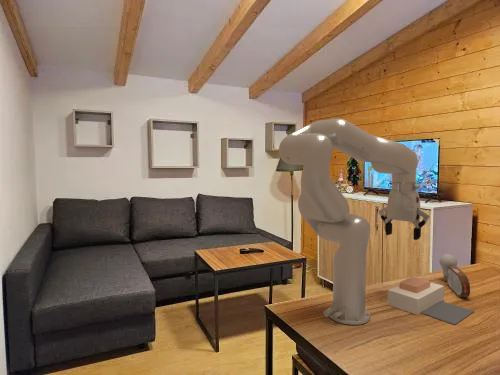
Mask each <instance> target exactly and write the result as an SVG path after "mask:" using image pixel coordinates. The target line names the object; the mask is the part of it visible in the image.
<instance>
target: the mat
mask: <svg viewBox="0 0 500 375" xmlns="http://www.w3.org/2000/svg"><path fill="white" fill-rule="evenodd" d="M474 312H475V310H471V309H469V308H466V307H461V306H459V305H455V304H452V303H449V302H446V301H444V300H443V301H440V302H438V303H436V304H435V305H433V306H431V307H429V308H428V309H426V310H424V311H422V312H421V313H420V314H422V315H425V316H428V317H430V318H433V319H436V320H440V321H442V322H445V323H447V324H451V325H453V326H456V325H457V324H458V325H459V323H461V322H462V321H464V320H465V319H466V318H468V317H469V316H471V315H472V314H474Z"/></svg>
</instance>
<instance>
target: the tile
mask: <svg viewBox="0 0 500 375" xmlns="http://www.w3.org/2000/svg"><path fill="white" fill-rule="evenodd" d="M430 283H432V282H431V280H427V279H424V278H420V277H417V276H411V277H408V278H407V279H405V280H402V281H399V284H398V285H399V288H401V289H404V290H408V291H411V292H414V293H419V292H421V291H423V290H425V289H427V288H429V287H430Z"/></svg>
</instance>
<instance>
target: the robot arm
mask: <svg viewBox="0 0 500 375" xmlns="http://www.w3.org/2000/svg"><path fill="white" fill-rule="evenodd" d="M333 149H334V150H336V151H338V152H340V153H343V154H345V155H347V156H349V157H350V158H353V159H354V160H356V161H359V162H360V161H361V162H364V163H370V166H371V168H372V169H373V171H375V172H377V173H379V174H388V175H389V174H391V190H390V191H389V194H388V198H387V202H386V203H387V204H386V205H387V206H386V207H384V208H382V209H379V210H378V215H379V216H380V219H381V221H383V223H384V225H385V226H384V227H385V228H384V232H385V235H386V236H390V235H392V234H393V223H392V221H401V222H410V223H412V225H413V226H414V228H413V240H414V241H417V240H420V239H421V237H422V228H423V227H424V226H425V225H426V224H427V223H428V221H429V219H430V218H431V216H430V215H429V214H428V213H426V212H425V211H423V210H422V208H421V199H420V195H419V191H416V190H419V189H420V187H421V185H420V184H418V183H417V168H418V165H419V159H418V156H417V154H416V152H415V151H413V149H411V148H410V147H409V146H406V145H405V144H403V143H401V142H398V141H395V140H391V139H388V138H384V137H381V136H376V135H373V134H370V133H369V132H367V131H365V130H364V129H362V128H360V127H358V126H357V125H355V124H354V123H351V122H349V121H348V120H346V119H344V118H330V119H322V120H317V121H313V122H312V123H310V124H307V125H305V126H303V127H302V128H300V129H297V130H295V131H294V132H292V133H290V134H288V135H286V136H285V137H284V138H282V140H281V141H280V143H279V146H278V154H279V157H280V159H281V160H282V161H283V162H285V163H286V164H288V165H293V166H299V165H300V166H303V167H302V172H301V178H300V187H301V190H302V192H301V194H300V195H299V197H298V200H297V207H298V211H299V214H300V215H301V217H302V218H303V219H304V221H305V222H306V223H307V224H308V225H309V226H310V228H311V229H312V231H313V232H315V234H317V236H318V237H320V238H321V239H323V240H325V241H329V242H331V243H332V242H333V243H336V244H339V247H338V248H337V249H336V251H335V253H334V256H333V260H332V261H333V262H332V267H333V268H332V270H333V271H332V273H333V275H332V276H333V277H332V283H333V284H332V285H333V286H332V301H331V302H330V306H329V307H328V308H327V309H325V310H324V311H323V312H322V313H323V316H324V317H326V318H330V319H331V320H332V321H335V322H337V323H340V324H345V325H351V326H357V325H358V326H359V325H364V324H367V323H368V322H369V321H370V320H371V314H370V312H369V311H368V310H367V309H366V281H367V280H366V279H367V278H366V277H367V271H366V269H367V267H366V266H367V265H366V264H367V252H368V245H369V241H370V236H371V227H370V223H369V222H368V221H367V219H366V218H364V217H362V216H361V215H357V214H353V213H350V205H349V203H348V201H347V199H346V197H345V196H344V194H343V193H342V192H341V190H340V189H339V187H338V186H337V185H336V183H335V182H334V181H333V179H332V177H331V174H330V166H331V161H332V156H333ZM385 213H386V214H385ZM421 217H422V220H421ZM420 220H421V221H420Z"/></svg>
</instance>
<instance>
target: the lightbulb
mask: <svg viewBox="0 0 500 375" xmlns="http://www.w3.org/2000/svg"><path fill="white" fill-rule="evenodd" d="M438 260H439V261H438V263H439V264H440V267H441V268H442V275H443V280H444V281H445V282H446V283H448V281H447V269H448V268H449V267H458V266H457V265H458V260H457V258H456V256H454V255H453V254H450V253H444V254H442V255H441V256H440V257H439V259H438Z"/></svg>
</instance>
